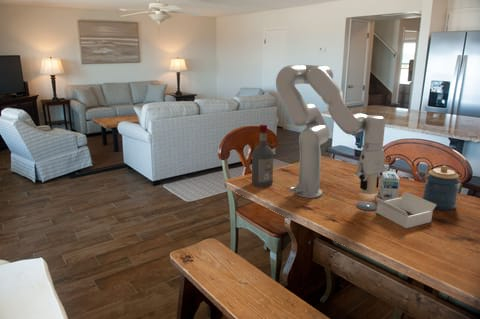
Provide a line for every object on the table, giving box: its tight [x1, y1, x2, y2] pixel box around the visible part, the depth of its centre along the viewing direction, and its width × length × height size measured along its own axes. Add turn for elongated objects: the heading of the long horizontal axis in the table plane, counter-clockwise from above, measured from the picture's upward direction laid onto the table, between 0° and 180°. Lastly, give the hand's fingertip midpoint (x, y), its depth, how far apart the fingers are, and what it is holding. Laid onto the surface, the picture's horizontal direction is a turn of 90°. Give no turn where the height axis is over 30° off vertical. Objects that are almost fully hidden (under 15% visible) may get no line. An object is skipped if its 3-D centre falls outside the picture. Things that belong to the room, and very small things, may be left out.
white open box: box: [374, 190, 436, 229], centre depth 145 cm, size 16×15×7 cm
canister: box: [421, 165, 461, 211], centre depth 155 cm, size 13×13×18 cm
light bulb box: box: [378, 170, 401, 201], centre depth 165 cm, size 11×7×11 cm, turn 168°
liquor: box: [251, 124, 275, 188], centre depth 178 cm, size 9×9×30 cm
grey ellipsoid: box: [356, 200, 377, 212], centre depth 156 cm, size 8×8×1 cm
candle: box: [361, 174, 377, 195], centre depth 152 cm, size 6×6×10 cm
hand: (369, 187), depth 153 cm, fingers closed on candle, 5 cm apart
